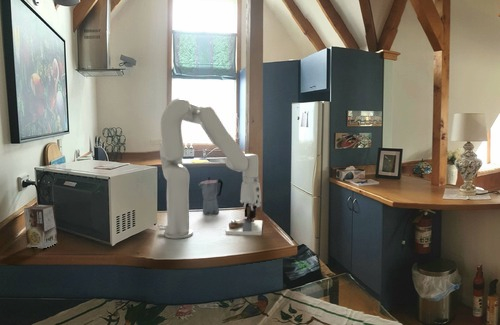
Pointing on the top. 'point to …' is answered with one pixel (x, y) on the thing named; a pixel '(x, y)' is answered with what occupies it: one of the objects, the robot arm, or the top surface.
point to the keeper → (245, 224)
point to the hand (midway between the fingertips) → (250, 216)
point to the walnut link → (239, 223)
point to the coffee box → (40, 226)
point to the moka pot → (210, 195)
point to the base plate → (238, 231)
